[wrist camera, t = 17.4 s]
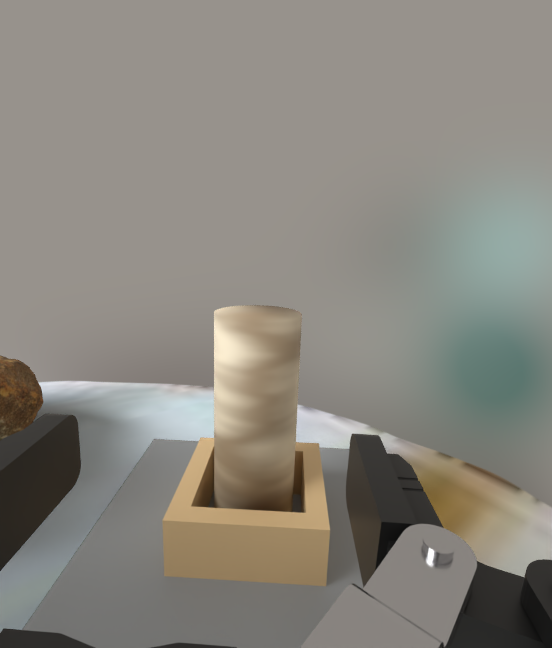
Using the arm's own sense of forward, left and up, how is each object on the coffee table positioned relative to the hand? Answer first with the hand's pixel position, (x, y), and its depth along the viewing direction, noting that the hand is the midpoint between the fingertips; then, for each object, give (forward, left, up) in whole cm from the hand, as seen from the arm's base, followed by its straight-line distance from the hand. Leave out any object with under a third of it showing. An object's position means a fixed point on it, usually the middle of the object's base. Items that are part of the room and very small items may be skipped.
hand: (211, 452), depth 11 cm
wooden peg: (0, +12, -12) cm, 17 cm away
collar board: (0, +12, -13) cm, 18 cm away
